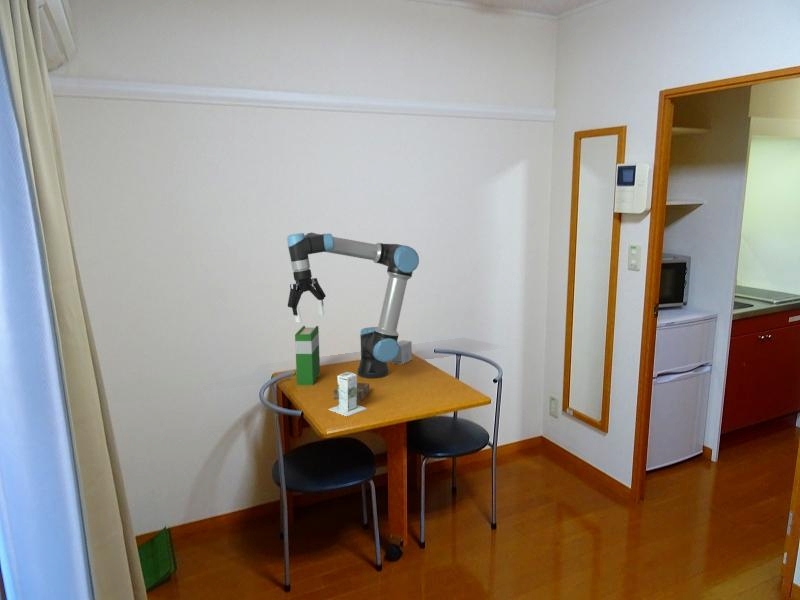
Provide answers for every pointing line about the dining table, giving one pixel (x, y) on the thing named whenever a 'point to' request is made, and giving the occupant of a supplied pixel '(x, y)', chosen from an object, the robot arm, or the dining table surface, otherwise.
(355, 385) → the syrup box
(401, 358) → the skincare box
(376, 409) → the dining table surface
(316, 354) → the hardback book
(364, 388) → the walnut crate
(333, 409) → the grey mat
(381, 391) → the dining table surface
